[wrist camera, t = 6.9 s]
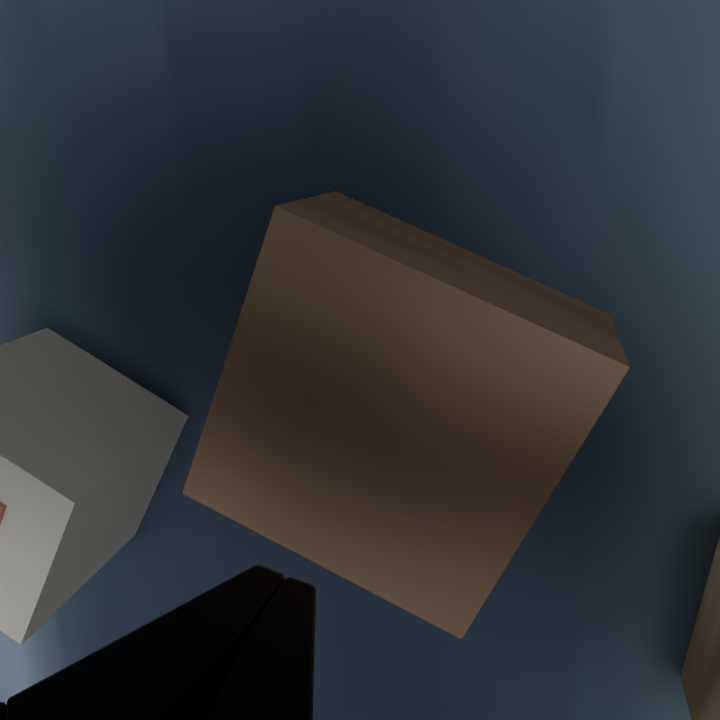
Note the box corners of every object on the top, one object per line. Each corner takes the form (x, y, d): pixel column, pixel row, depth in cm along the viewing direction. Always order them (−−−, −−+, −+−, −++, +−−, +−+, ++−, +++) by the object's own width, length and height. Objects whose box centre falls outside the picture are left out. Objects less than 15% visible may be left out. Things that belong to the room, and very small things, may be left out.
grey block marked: (136, 533, 21) (17, 647, 16) (10, 451, 21) (-142, 539, 16) (190, 414, 19) (71, 505, 14) (49, 326, 19) (-112, 386, 14)
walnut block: (479, 535, 18) (461, 639, 14) (254, 423, 18) (182, 493, 15) (609, 311, 15) (629, 366, 11) (338, 190, 16) (275, 205, 12)
